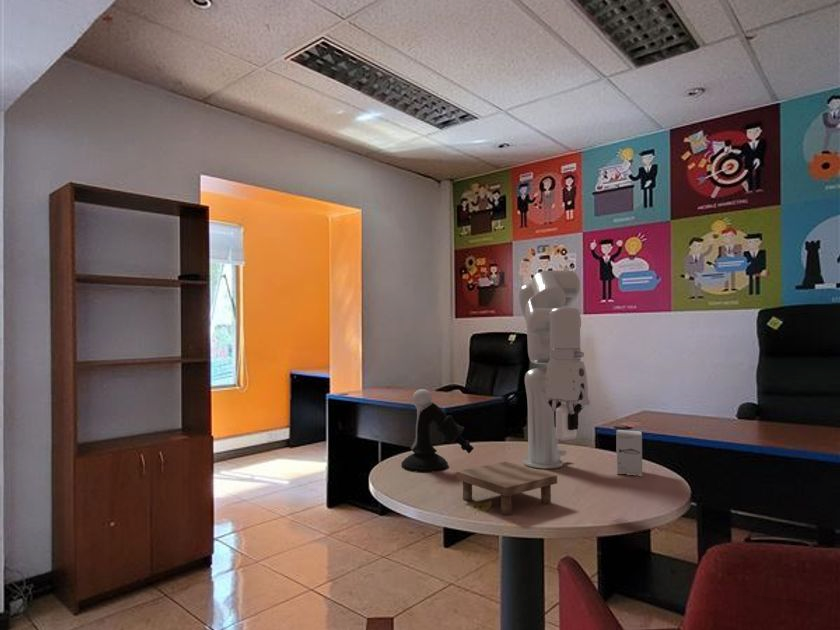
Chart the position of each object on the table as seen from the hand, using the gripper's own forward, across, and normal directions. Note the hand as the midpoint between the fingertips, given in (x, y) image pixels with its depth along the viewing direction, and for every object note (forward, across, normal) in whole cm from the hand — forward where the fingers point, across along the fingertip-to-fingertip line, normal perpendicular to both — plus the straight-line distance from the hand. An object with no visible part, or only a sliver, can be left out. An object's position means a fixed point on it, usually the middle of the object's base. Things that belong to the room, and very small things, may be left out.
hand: (566, 427), depth 131 cm
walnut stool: (+19, +10, +11) cm, 24 cm away
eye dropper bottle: (+3, 0, 0) cm, 3 cm away
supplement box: (+19, +6, -39) cm, 44 cm away
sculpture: (+19, +48, +3) cm, 52 cm away
